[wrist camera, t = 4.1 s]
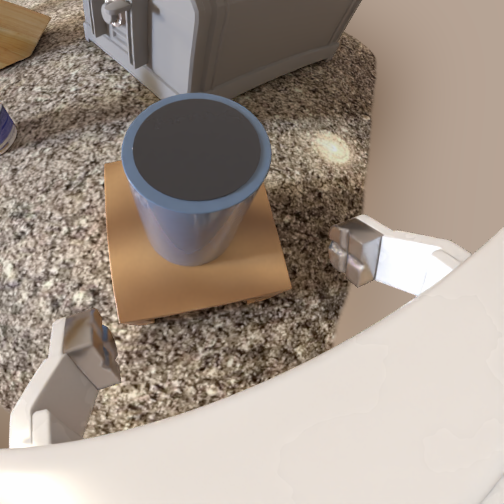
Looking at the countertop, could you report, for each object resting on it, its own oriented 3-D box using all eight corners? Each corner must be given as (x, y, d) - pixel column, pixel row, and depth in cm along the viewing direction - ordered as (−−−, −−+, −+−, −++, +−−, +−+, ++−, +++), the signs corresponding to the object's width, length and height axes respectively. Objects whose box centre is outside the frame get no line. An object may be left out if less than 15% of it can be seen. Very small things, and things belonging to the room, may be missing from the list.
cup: (245, 257, 20) (290, 201, 11) (151, 274, 18) (125, 226, 10) (225, 175, 21) (252, 89, 13) (140, 188, 19) (121, 100, 11)
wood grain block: (263, 300, 28) (292, 288, 20) (138, 325, 24) (119, 323, 17) (235, 187, 30) (252, 143, 23) (122, 205, 27) (104, 163, 19)
